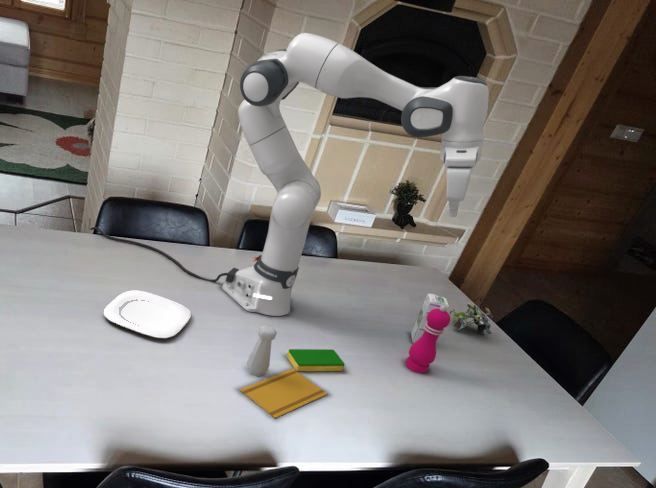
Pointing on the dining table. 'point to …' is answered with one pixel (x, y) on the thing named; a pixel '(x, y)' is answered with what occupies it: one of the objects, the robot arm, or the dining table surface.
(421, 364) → the pepper mill
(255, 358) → the salt shaker
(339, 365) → the dish sponge
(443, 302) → the syrup box
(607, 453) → the dining table surface
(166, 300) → the plate
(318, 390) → the cloth
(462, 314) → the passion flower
